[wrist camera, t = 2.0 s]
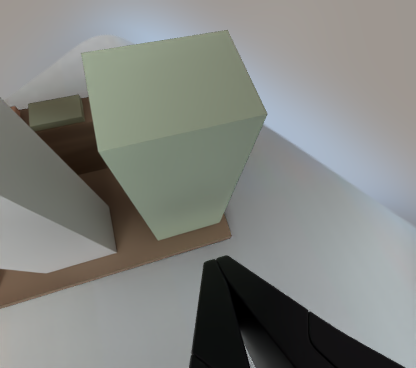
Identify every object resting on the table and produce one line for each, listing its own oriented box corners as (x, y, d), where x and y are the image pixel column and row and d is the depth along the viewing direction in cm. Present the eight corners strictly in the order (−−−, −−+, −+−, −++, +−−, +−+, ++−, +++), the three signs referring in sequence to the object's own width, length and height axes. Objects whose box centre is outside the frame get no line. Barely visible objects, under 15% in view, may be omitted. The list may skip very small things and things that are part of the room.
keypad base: (229, 238, 17) (250, 212, 11) (-77, 332, 14) (-272, 364, 8) (194, 134, 20) (195, 70, 14) (-65, 193, 17) (-202, 142, 11)
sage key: (219, 222, 16) (267, 113, 6) (158, 240, 16) (98, 152, 5) (205, 181, 17) (227, 30, 7) (147, 196, 17) (80, 53, 7)
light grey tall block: (116, 252, 15) (-31, 180, 5) (46, 273, 15) (-289, 238, 4) (108, 206, 16) (-27, 69, 6) (42, 224, 16) (-236, 102, 5)
